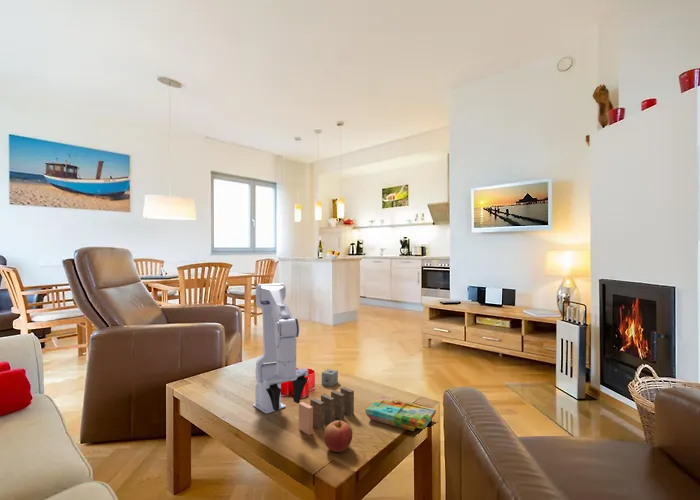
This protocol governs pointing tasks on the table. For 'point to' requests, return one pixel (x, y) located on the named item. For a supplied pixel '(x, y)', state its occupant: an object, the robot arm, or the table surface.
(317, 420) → the domino
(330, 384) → the dice cube
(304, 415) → the domino
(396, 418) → the puzzle game
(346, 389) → the domino
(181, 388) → the table surface
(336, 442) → the apple
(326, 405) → the domino
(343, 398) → the domino
